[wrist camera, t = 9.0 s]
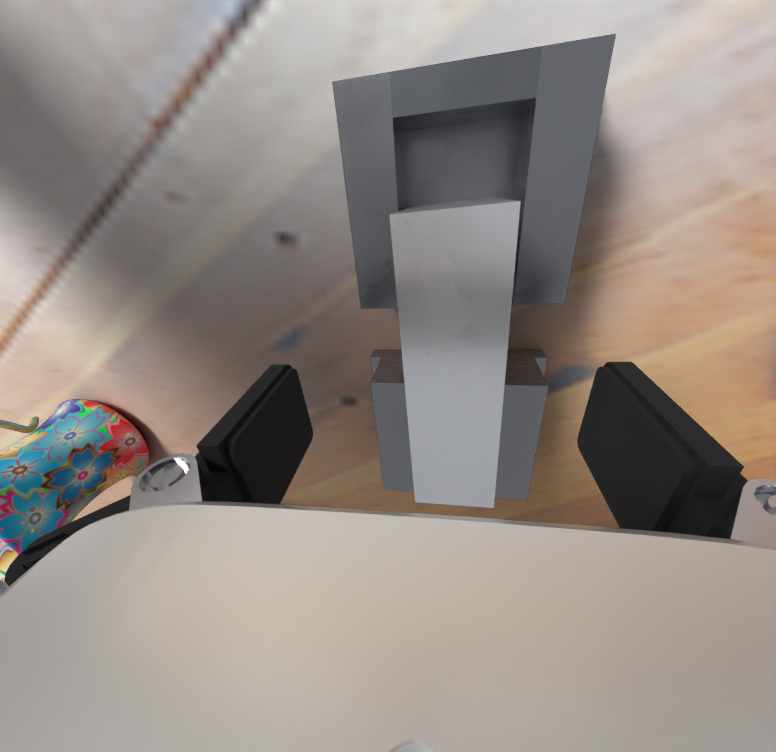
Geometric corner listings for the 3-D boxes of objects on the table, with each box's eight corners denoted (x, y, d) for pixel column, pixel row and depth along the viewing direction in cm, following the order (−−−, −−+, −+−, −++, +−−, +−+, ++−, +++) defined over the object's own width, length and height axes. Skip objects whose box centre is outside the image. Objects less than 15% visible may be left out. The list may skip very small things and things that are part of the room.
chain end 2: (374, 350, 20) (358, 382, 17) (542, 350, 18) (563, 386, 15) (384, 446, 24) (374, 488, 21) (525, 454, 22) (538, 501, 19)
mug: (180, 455, 29) (57, 574, 20) (124, 478, 33) (-2, 589, 24) (68, 346, 25) (-153, 435, 16) (18, 386, 28) (-187, 478, 19)
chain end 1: (346, 109, 14) (314, 84, 11) (589, 73, 13) (640, 29, 9) (366, 287, 18) (347, 308, 15) (554, 279, 16) (581, 302, 13)
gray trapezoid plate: (407, 206, 15) (377, 216, 9) (492, 196, 14) (520, 200, 8) (420, 412, 21) (407, 501, 15) (481, 414, 20) (493, 507, 14)
